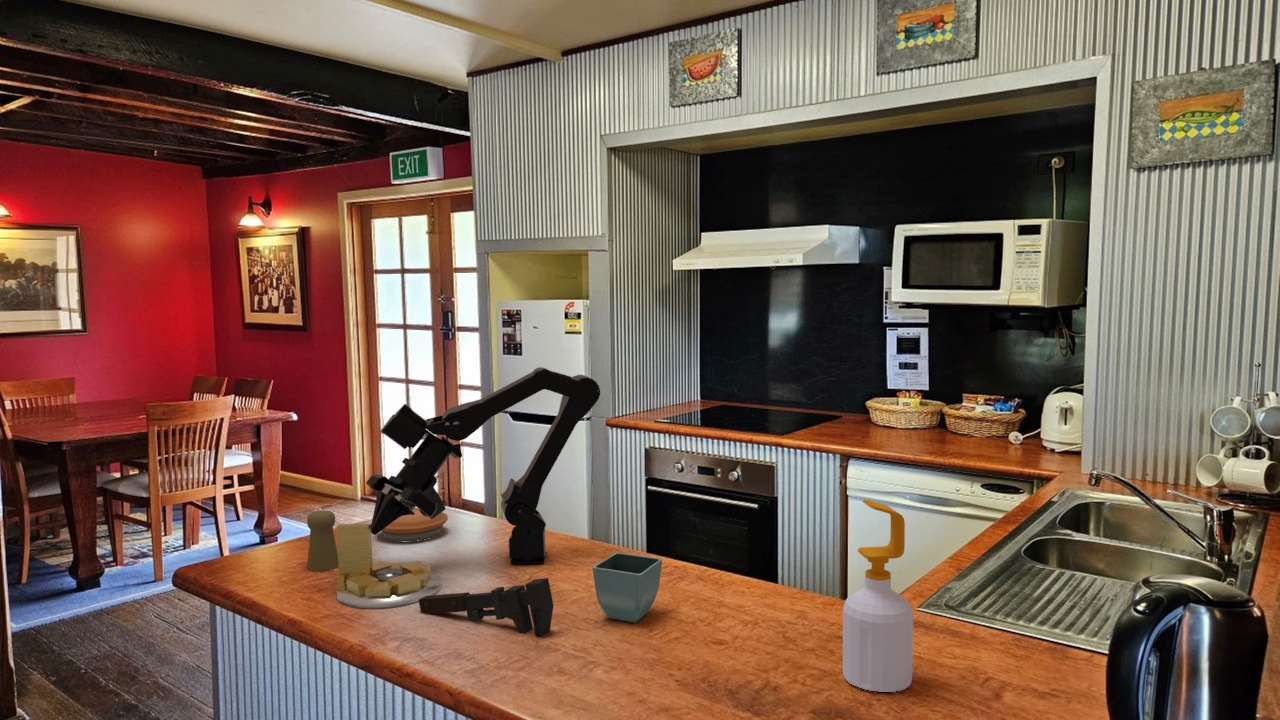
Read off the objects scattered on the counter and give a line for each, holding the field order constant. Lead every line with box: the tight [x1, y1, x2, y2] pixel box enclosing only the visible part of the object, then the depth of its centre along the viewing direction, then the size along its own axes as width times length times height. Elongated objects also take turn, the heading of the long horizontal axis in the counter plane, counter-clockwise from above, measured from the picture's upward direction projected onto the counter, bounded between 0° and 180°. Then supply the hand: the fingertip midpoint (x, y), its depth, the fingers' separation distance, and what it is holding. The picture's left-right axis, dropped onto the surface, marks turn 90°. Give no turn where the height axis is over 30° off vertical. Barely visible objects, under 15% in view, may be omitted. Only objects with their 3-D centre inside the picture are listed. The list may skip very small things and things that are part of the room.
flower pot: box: [592, 552, 663, 623], centre depth 141 cm, size 9×9×9 cm
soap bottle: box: [842, 498, 914, 693], centre depth 116 cm, size 9×9×25 cm
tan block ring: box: [336, 523, 432, 596], centre depth 155 cm, size 16×14×10 cm
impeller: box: [336, 568, 442, 610], centre depth 155 cm, size 18×18×3 cm
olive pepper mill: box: [306, 509, 338, 573], centre depth 169 cm, size 6×6×11 cm
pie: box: [381, 507, 449, 542], centre depth 190 cm, size 15×16×5 cm
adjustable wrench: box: [418, 577, 554, 638], centre depth 140 cm, size 8×3×25 cm
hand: (372, 533), depth 158 cm, fingers closed
